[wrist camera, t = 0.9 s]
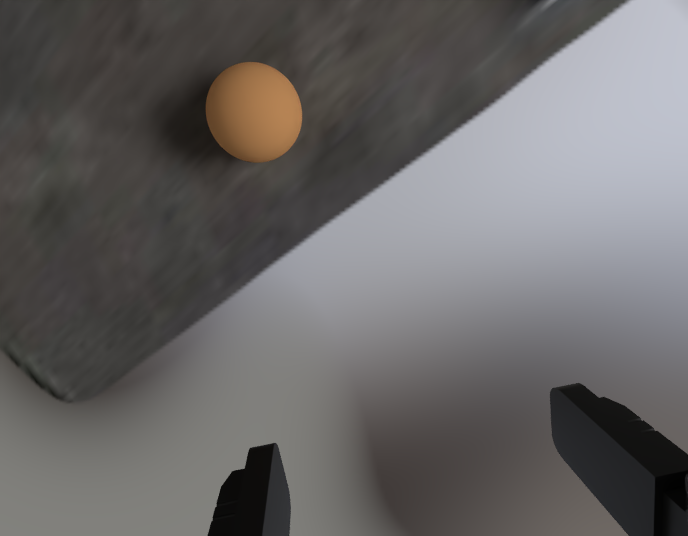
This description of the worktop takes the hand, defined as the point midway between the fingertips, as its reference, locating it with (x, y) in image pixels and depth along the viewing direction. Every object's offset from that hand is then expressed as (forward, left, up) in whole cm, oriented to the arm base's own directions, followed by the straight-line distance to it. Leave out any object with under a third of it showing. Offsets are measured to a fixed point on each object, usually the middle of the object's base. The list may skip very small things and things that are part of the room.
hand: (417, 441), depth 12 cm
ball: (-7, +8, -18) cm, 20 cm away
